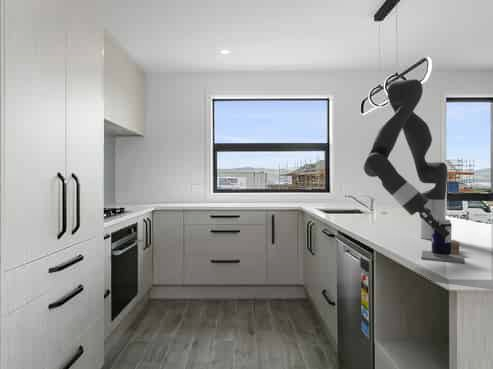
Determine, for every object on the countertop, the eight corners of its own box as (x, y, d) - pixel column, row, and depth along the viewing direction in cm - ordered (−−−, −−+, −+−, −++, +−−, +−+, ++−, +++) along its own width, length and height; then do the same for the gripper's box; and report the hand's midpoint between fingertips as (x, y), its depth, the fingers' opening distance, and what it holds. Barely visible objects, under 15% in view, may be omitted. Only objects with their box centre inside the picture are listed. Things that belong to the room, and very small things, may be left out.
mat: (422, 252, 126) (422, 250, 126) (461, 256, 121) (461, 254, 121) (421, 259, 116) (421, 257, 116) (464, 263, 110) (464, 261, 110)
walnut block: (440, 251, 128) (440, 239, 128) (454, 252, 127) (454, 240, 127) (444, 254, 123) (444, 241, 123) (458, 255, 122) (459, 242, 122)
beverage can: (444, 253, 121) (445, 218, 121) (454, 257, 116) (455, 220, 115) (428, 253, 121) (428, 218, 121) (437, 257, 116) (438, 220, 115)
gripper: (417, 191, 115) (457, 229, 110) (419, 190, 128) (455, 224, 122) (399, 207, 118) (438, 244, 112) (402, 204, 130) (437, 238, 125)
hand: (447, 234), depth 117 cm, fingers open, 8 cm apart
